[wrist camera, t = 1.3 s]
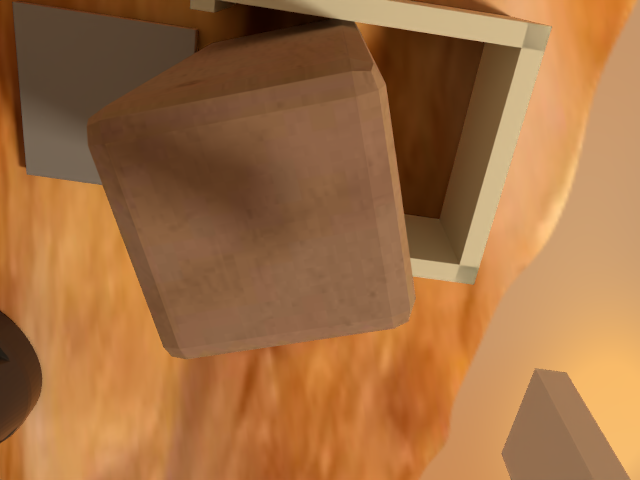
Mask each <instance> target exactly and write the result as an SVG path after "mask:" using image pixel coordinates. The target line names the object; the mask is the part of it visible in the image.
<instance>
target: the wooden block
mask: <svg viewBox="0 0 640 480" xmlns="http://www.w3.org/2000/svg"><path fill="white" fill-rule="evenodd" d="M87 141H88V147H89V150H90V153H91V155H92V158H93V161H94V163H95V166H96V169H97V171H98V174H99V177H100V179H101V182H102V185H103V187H104V190H105V193H106V195H107V198H108V201H109V203H110V206H111V209H112V211H113V214H114V217H115V219H116V222H117V225H118V227H119V230H120V233H121V235H122V238H123V240H124V243H125V246H126V248H127V251H128V254H129V256H130V259H131V262H132V264H133V267H134V270H135V272H136V275H137V278H138V280H139V283H140V286H141V288H142V291H143V294H144V296H145V299H146V302H147V304H148V307H149V310H150V312H151V315H152V318H153V320H154V323H155V326H156V328H157V331H158V333H159V336H160V339H161V341H162V344H163V347H164V348H165V349H166V350H167V351H168V352H169V354H170V355H171V356H172V357H177V358H183V359H192V358H198V357H205V356H212V355H219V354H225V353H232V352H239V351H246V350H252V349H259V348H266V347H273V346H279V345H286V344H293V343H299V342H306V341H313V340H320V339H326V338H333V337H340V336H347V335H353V334H360V333H367V332H374V331H380V330H387V329H394V328H396V327H398V326H400V325H402V324H404V323H406V322H408V321H409V317H410V314H411V311H412V308H413V305H414V302H415V299H416V297H415V290H414V283H413V275H412V268H411V261H410V254H409V246H408V239H407V232H406V225H405V218H404V210H403V203H402V196H401V189H400V182H399V174H398V167H397V160H396V153H395V146H394V138H393V131H392V124H391V117H390V110H389V102H388V95H387V88H386V83H385V81H384V79H383V77H382V75H381V73H380V71H379V69H378V67H377V65H376V63H375V61H374V59H373V57H372V55H371V53H370V51H369V49H368V47H367V45H366V43H365V41H364V39H363V37H362V34H361V32H360V31H359V29H358V27H357V25H356V24H355V22H354V21H348V20H341V19H335V18H333V19H328V20H323V21H318V22H313V23H308V24H303V25H298V26H293V27H288V28H284V29H279V30H274V31H269V32H264V33H259V34H254V35H249V36H244V37H239V38H235V39H230V40H225V41H220V42H215V43H211V44H210V45H208V46H206V47H204V48H203V49H201V50H199V51H198V52H196V53H194V54H193V55H191V56H189V57H188V58H186V59H184V60H182V61H181V62H179V63H177V64H176V65H174V66H172V67H171V68H169V69H167V70H166V71H164V72H162V73H160V74H159V75H157V76H155V77H154V78H152V79H150V80H149V81H147V82H145V83H144V84H142V85H140V86H138V87H137V88H135V89H133V90H132V91H130V92H128V93H127V94H125V95H123V96H122V97H120V98H118V99H116V100H115V101H113V102H111V103H110V104H108V105H106V106H105V107H104V108H102V109H101V110H99V111H98V112H97V113H95V114H94V115H93V116H91V117H90V118H89V119H88V122H87Z"/></svg>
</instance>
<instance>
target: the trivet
mask: <svg viewBox="0 0 640 480" xmlns="http://www.w3.org/2000/svg"><path fill="white" fill-rule="evenodd" d="M12 3H13V15H14V27H15V39H16V51H17V63H18V75H19V87H20V99H21V111H22V123H23V135H24V147H25V159H26V171H27V174H28V175H35V176H43V177H50V178H57V179H64V180H71V181H78V182H85V183H92V184H99V185H102V182H101V179H100V177H99V174H98V171H97V169H96V166H95V163H94V161H93V158H92V155H91V153H90V150H89V147H88V141H87V122H88V119H89V118H90V117H91V116H93V115H94V114H95V113H97V112H98V111H99V110H101V109H102V108H104V107H105V106H106V105H108V104H110V103H111V102H113V101H115V100H116V99H118V98H120V97H122V96H123V95H125V94H127V93H128V92H130V91H132V90H133V89H135V88H137V87H138V86H140V85H142V84H144V83H145V82H147V81H149V80H150V79H152V78H154V77H155V76H157V75H159V74H160V73H162V72H164V71H166V70H167V69H169V68H171V67H172V66H174V65H176V64H177V63H179V62H181V61H182V60H184V59H186V58H188V57H189V56H191V55H193V54H194V53H196V52H197V42H198V29H196V28H189V27H183V26H176V25H170V24H163V23H157V22H150V21H144V20H138V19H131V18H125V17H118V16H112V15H105V14H99V13H92V12H86V11H79V10H73V9H66V8H60V7H54V6H47V5H41V4H34V3H28V2H21V1H15V2H12Z"/></svg>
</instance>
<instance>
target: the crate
mask: <svg viewBox="0 0 640 480" xmlns="http://www.w3.org/2000/svg"><path fill="white" fill-rule="evenodd" d="M236 3H240V4H246V5H252V6H259V7H265V8H271V9H278V10H284V11H290V12H297V13H303V14H310V15H316V16H322V17H329V18H335V19H341V20H348V21H354V22H360V23H367V24H373V25H379V26H386V27H392V28H399V29H405V30H411V31H418V32H424V33H430V34H437V35H443V36H449V37H456V38H462V39H468V40H475V41H481V42H485V44H484V48H483V52H482V56H481V60H480V63H479V67H478V71H477V75H476V79H475V83H474V87H473V91H472V94H471V98H470V102H469V106H468V110H467V114H466V118H465V122H464V125H463V129H462V133H461V137H460V141H459V145H458V149H457V153H456V156H455V160H454V164H453V168H452V172H451V176H450V180H449V184H448V188H447V191H446V195H445V199H444V203H443V207H442V211H441V215H440V219H436V218H429V217H422V216H415V215H408V214H404V218H405V225H406V232H407V239H408V246H409V254H410V261H411V268H412V275H413V276H415V277H422V278H429V279H437V280H444V281H451V282H459V283H466V284H473V285H474V282H475V279H476V276H477V272H478V269H479V266H480V262H481V259H482V256H483V253H484V249H485V246H486V243H487V239H488V236H489V233H490V230H491V226H492V223H493V220H494V216H495V213H496V210H497V206H498V203H499V200H500V197H501V193H502V190H503V187H504V183H505V180H506V177H507V173H508V170H509V167H510V164H511V160H512V157H513V154H514V150H515V147H516V144H517V140H518V137H519V134H520V131H521V127H522V124H523V121H524V117H525V114H526V111H527V107H528V104H529V101H530V98H531V94H532V91H533V88H534V84H535V81H536V78H537V74H538V71H539V68H540V65H541V61H542V58H543V55H544V51H545V48H546V45H547V42H548V38H549V35H550V32H551V28H552V26H548V25H544V24H539V23H535V22H531V21H527V20H523V19H519V18H515V17H510V16H504V15H498V14H492V13H485V12H479V11H473V10H467V9H460V8H454V7H448V6H442V5H435V4H429V3H423V2H417V1H410V0H190V9H195V10H201V11H208V12H217V11H220V10H223V9H226V8H229V7H232V6H235V5H236Z"/></svg>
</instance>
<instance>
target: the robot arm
mask: <svg viewBox="0 0 640 480" xmlns="http://www.w3.org/2000/svg"><path fill="white" fill-rule="evenodd" d="M41 387H42V373H41V367H40V363H39V360H38V357H37V355H36V353H35V351H34V349H33V347H32V345H31V344H30V342H29V340H28V339H27V338H26V336H25V335H24V334H23V332H22V331H21V330H20V329H19V328H18V327H17V326H16V325H15V324H14V323H13V322H12V321H11V320H10V319H9V318H8V317H7V316H5V315H4V314H3V313H1V312H0V443H1V442H3V441H4V440H6V439H7V438H9V437H10V436H11V435H13V434H14V433H15V432H16V431H17V430H18V429H19V428H20V426H21V425H22V424H23V422H24V421H25V420H26V418H27V417H28V415H29V414H30V412H31V411H32V409H33V408H34V406H35V405H36V403H37V401H38V399H39V396H40V392H41ZM502 456H503V459H504V462H505V464H506V467H507V470H508V472H509V475H510V478H511V480H630V478H629V476H628V475H627V473H626V471H625V470H624V468H623V466H622V465H621V463H620V461H619V460H618V458H617V456H616V455H615V453H614V451H613V450H612V448H611V446H610V445H609V443H608V441H607V440H606V438H605V436H604V435H603V433H602V431H601V430H600V428H599V426H598V425H597V423H596V421H595V420H594V418H593V417H592V415H591V413H590V411H589V409H588V408H587V406H586V404H585V403H584V401H583V399H582V398H581V396H580V394H579V393H578V391H577V389H576V388H575V386H574V384H573V383H572V381H571V379H570V378H569V376H568V374H567V373H565V372H558V371H551V370H543V369H535V370H534V373H533V375H532V378H531V380H530V383H529V385H528V388H527V390H526V393H525V395H524V398H523V400H522V403H521V406H520V408H519V411H518V413H517V416H516V418H515V421H514V423H513V426H512V428H511V431H510V434H509V436H508V438H507V441H506V443H505V446H504V448H503V451H502Z"/></svg>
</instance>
